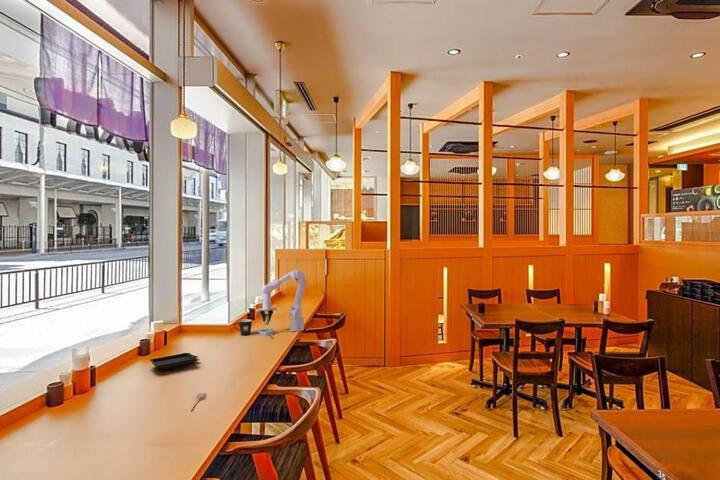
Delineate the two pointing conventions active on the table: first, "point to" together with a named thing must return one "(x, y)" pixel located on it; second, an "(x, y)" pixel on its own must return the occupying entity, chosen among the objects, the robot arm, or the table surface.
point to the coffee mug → (245, 327)
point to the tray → (173, 361)
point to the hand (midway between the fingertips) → (266, 321)
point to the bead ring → (266, 332)
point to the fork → (199, 396)
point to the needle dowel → (266, 319)
